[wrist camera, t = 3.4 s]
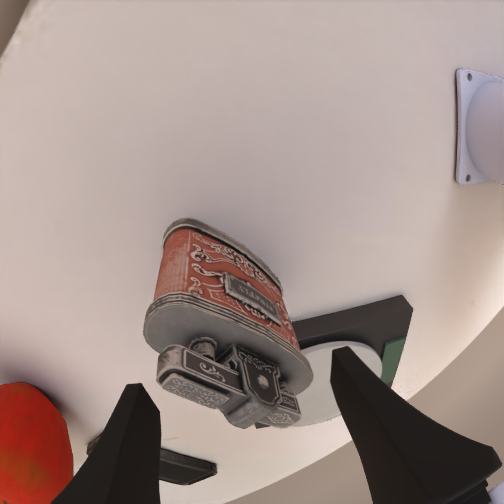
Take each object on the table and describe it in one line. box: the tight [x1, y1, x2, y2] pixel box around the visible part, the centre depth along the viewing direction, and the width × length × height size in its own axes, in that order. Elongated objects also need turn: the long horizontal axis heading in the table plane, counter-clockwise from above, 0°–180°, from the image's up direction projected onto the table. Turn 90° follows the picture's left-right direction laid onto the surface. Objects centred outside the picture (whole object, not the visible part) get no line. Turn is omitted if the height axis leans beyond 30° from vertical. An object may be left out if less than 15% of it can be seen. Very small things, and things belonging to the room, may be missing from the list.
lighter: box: [143, 218, 314, 429], centre depth 14 cm, size 8×3×10 cm, turn 48°
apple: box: [0, 382, 73, 504], centre depth 17 cm, size 12×12×14 cm
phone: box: [87, 435, 217, 485], centre depth 29 cm, size 8×1×15 cm
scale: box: [255, 295, 413, 429], centre depth 23 cm, size 13×11×3 cm
